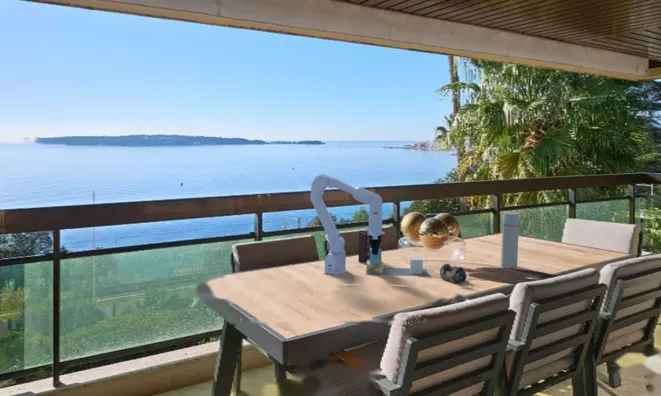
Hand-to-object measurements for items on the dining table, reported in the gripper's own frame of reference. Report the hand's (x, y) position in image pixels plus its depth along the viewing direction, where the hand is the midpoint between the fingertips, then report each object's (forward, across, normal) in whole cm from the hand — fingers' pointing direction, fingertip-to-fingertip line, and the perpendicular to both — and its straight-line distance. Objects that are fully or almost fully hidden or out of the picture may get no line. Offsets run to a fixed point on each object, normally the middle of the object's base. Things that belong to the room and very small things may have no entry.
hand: (375, 252), depth 223 cm
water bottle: (+9, +17, -62) cm, 65 cm away
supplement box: (+9, +20, +4) cm, 23 cm away
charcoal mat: (+9, 0, -10) cm, 13 cm away
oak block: (+8, 0, 0) cm, 8 cm away
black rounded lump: (+9, -13, -32) cm, 35 cm away
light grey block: (+8, 0, -18) cm, 20 cm away
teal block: (+4, 0, 0) cm, 4 cm away
